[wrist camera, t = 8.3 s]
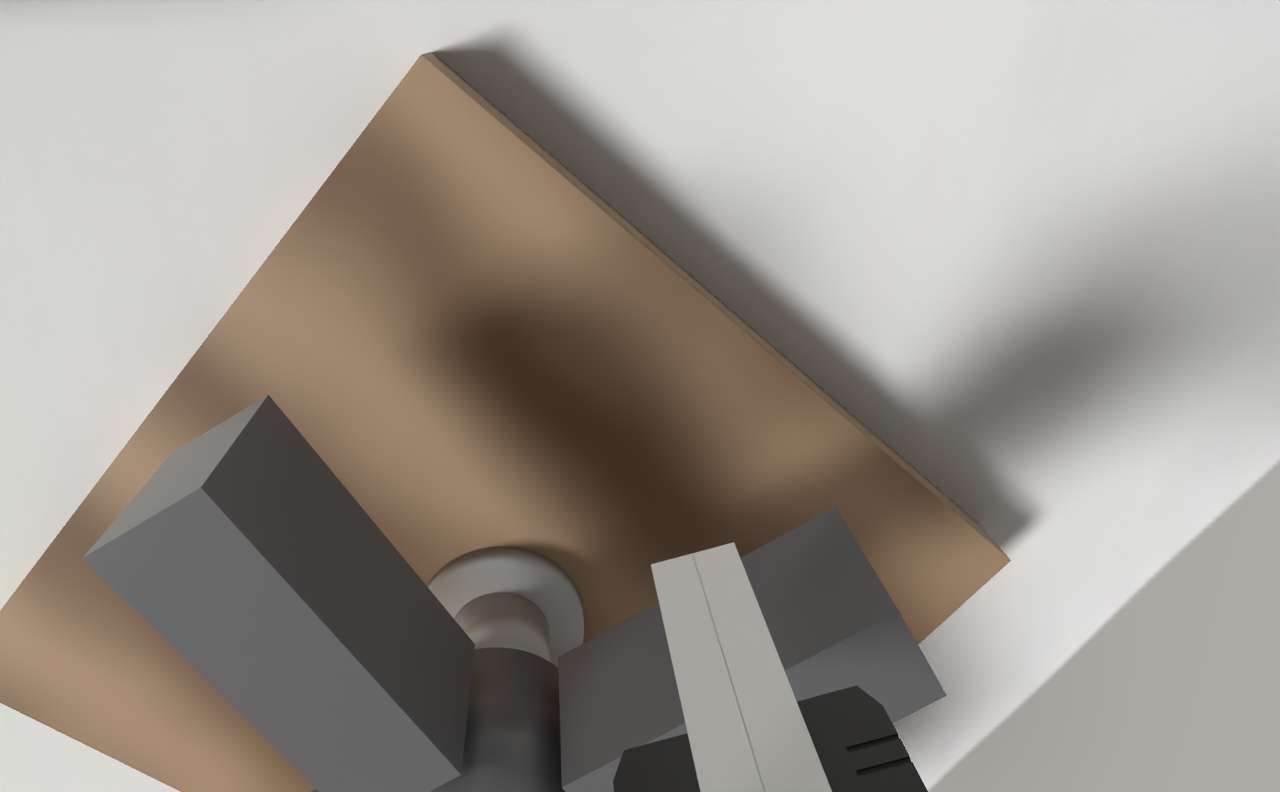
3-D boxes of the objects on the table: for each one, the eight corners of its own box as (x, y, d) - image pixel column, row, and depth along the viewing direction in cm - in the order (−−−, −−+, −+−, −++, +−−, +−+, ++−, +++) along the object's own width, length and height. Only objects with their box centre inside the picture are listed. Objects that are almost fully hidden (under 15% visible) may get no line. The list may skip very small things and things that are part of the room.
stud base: (430, 51, 23) (395, 61, 17) (981, 527, 30) (1081, 641, 24) (-11, 634, 28) (-149, 786, 22) (552, 924, 35) (554, 1094, 29)
